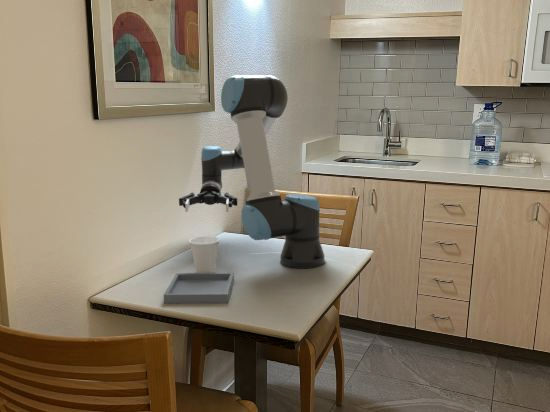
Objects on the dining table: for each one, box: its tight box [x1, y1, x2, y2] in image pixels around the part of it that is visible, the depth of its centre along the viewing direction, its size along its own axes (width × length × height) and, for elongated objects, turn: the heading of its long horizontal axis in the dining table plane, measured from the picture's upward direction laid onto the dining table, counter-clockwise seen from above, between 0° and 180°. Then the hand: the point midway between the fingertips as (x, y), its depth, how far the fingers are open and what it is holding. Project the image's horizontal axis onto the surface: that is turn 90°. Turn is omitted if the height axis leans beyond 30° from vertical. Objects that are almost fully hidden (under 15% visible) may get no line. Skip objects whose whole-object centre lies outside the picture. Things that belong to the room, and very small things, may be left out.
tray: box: [163, 272, 235, 304], centre depth 162 cm, size 18×18×2 cm
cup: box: [188, 235, 221, 273], centre depth 178 cm, size 10×10×11 cm
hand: (206, 207), depth 183 cm, fingers open, 13 cm apart
